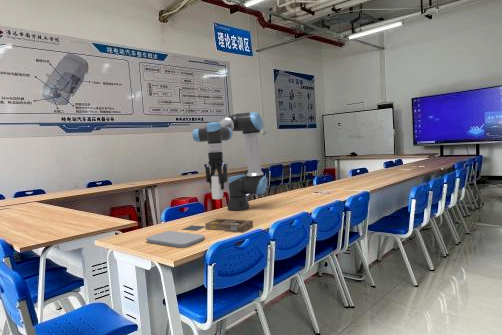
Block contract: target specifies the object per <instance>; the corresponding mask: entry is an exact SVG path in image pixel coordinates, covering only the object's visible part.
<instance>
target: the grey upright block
mask: <svg viewBox="0 0 502 335" xmlns="http://www.w3.org/2000/svg"><path fill="white" fill-rule="evenodd" d="M211 179H212V189H211V197H212V200H221V199H223V198H224V195H223V196H220V194H219V184H220V180H219V175H218V174H215V175H213V176H212V177H211Z"/></svg>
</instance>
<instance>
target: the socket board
mask: <svg viewBox="0 0 502 335" xmlns="http://www.w3.org/2000/svg"><path fill="white" fill-rule="evenodd" d="M204 226H205V227H204V228H205V230H209V231H221V232H222V231H223V232H228V233H229V232H230V233H245V232H247V231H248V230H251V229H252V228H253V227H254V222H253V220H249V219H248V220H247V219H246V220H245V219H233V218H232V219H230V218H215V219H212V220H211V221H208V222H205V224H204Z"/></svg>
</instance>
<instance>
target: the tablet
mask: <svg viewBox="0 0 502 335" xmlns="http://www.w3.org/2000/svg"><path fill="white" fill-rule="evenodd" d="M204 238H205V235H204V234H198V233H190V232H183V231H174V230H167V231H162V232H159V233H156V234H154V235H153V234H152V235H150V236H147V237H145V240H146V241H147V243H148V242H149V244H154V243H155V244H156V245H160V244H161V246H166V245H167V246H166V247H173V248H178V249H179V248H180V249H181V248H182V249H183V248H184V249H185V248H188V247H191V246H193V245H195V244H198V243H200V242H203V241H204ZM155 244H154V245H155Z"/></svg>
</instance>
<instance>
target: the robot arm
mask: <svg viewBox="0 0 502 335" xmlns="http://www.w3.org/2000/svg"><path fill="white" fill-rule="evenodd" d="M263 126H264V122H263V119H262V116H261V114H260V113H259V112H257V111H255V112H253V111H251V112H241V113H234V114H232V115H231V114H230V115H228V116H225V117H224V118H222V120H220V121H214V122H213V121H212V122H207V124H206V126H203V127H201V128H194V129H193V130H192V133H191V135H192V138H193V141H194V142H197V143H198V142H199V143H201V142H207V150H208V153H207V154H208V156H207V158H208V163H204V164H203V166H204V169H205V178H206V179H205V180H206V183H208V184H209V189H210V190H212V179H211V177H212V176H213V175H216V171H217V175H219V180H220V184H219V194H220V196H223V197H224V190H225V183H227V182H228V197H229V199H228V203H227V211H231V212H232V211H233V212H239V211H246V210H249V209H250V203H249V200H248V198H247V195H263V194H264V193H266V191H267V188H268V178H267V176H265V175H264V172H263V171H262V166H261V165H262V164H261V155H260V154H261V153H260V141H259V135H260V134H261V130H263V128H264V127H263ZM233 132H242V135H243V136H244V137H245V149H246V161H247V173H246V174H240V175H239V174H237V175H232V176H230V177H229V178H228V166H229V163H225V162H224V160H223V159H224V158H223V142H224V141H226V142H227V141H229V140H231V139H232V137H233Z"/></svg>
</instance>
